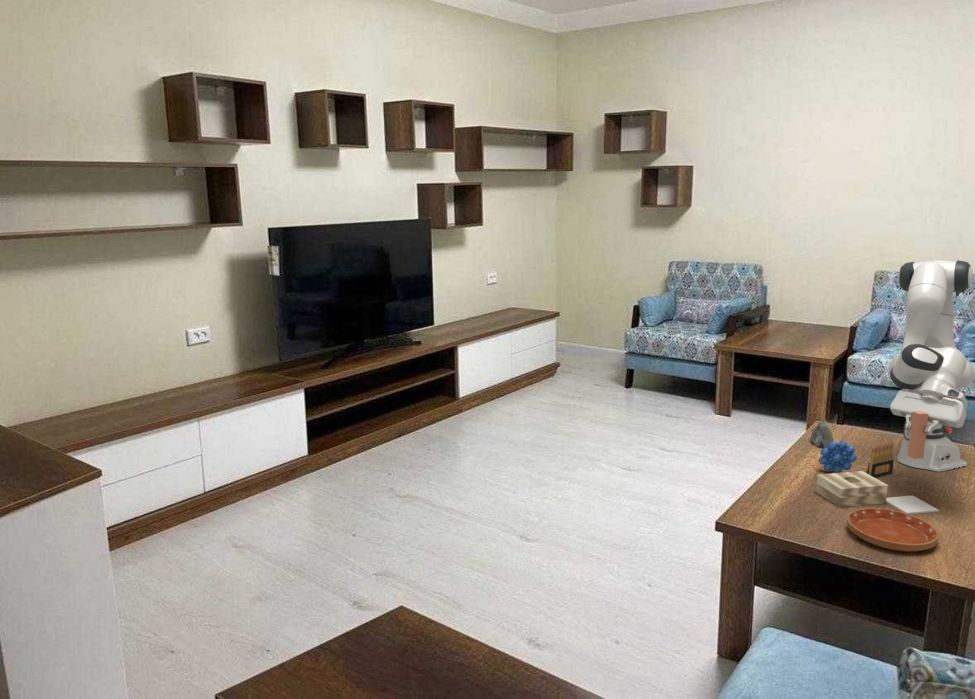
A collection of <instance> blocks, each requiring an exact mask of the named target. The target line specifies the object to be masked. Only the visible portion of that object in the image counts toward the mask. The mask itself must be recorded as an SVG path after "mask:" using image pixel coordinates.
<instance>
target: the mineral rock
mask: <svg viewBox="0 0 975 699" xmlns="http://www.w3.org/2000/svg"><path fill="white" fill-rule="evenodd" d="M810 439H811V442H812V443H813V444H814V445H815V446H816V447H817V448H821V449H823V448H828V444H829V443H830V442H835V441H834V440H835V439H834V436H833V432H832V431H831V429H830V428H829V424H828V422H827V420H826V419H822V420H820V421H819V422H818V423H817V426H816V427H814V428H813V429H812V432H811V436H810Z"/></svg>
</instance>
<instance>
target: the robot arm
mask: <svg viewBox="0 0 975 699" xmlns="http://www.w3.org/2000/svg"><path fill="white" fill-rule="evenodd" d="M973 280H974V272H973V269H972V265H971V264H970V263H969V261H964V260H960V259H959V260H945V259H944V260H943V259H935V260H926V261H924V260H923V261H917V262H916V261H909V262H906V263H904V264H902V265H901V267H900V269H899V271H898V274H897V281H898V284H899V287H900V289H901V290H902V291H904V292H907V295H906V296H907V297H906V313H905V315H906V316H905V329H904V335H903V341H902V346H901V349H900V354H897V355H895V356H894V357H892V359H891V361H890V362H889V364H888V373H889V378H890V380H891V382H892V383H893V384H894V385H895V386H896V387H898V388H900V390H898V391H897V393H896V395H895V397H894V399H893V400H892V402H891V403H890V405H889V410H890V412H891V413H892V414H893V415H894V416H898V417H904V418H905V422H904V425H903V438H902V441H901V446H900V449H899V451H898V454H897V455H896V457H895V458H896V461H898V462H899V463H901V464H903V465H906V466H908V467H912V468H917V469H923V470H930V471H932V472H944V471H945V472H946V471H949V470H954V468H955V469H960V468H964V467H963V466H965V467H967V466H968V463H967V462H966V461H965V460H964V459H962V458H961V451H960V448H959V446H958V445H957V444H955V443H954V442H953V441H952V440H951V439H949V438H948V437H947V436H946V433H947V434H949V435H950V434H952V432H953V429H952V428H956V429H959V428H961V427H963V425H964V424H965V420H966V417H967V411H966V410H967V409H968V401H967V398H966V396H965V395H964V393H963V392H961V391H959V390H958V389H965V388H967V387H968V386H970V385H971V384H972V383H973V381H974V378H975V368H974V366H973V364H972V363H971V361H969V360H968V358H966V356H965V355H964V354H963V352H961V350H959V349H958V348H957V346H956V344H955V339H954V318H955V317H954V316H955V303H954V302H955V301H954V294H953V293H955V296H956V297H959V295H960V294H962V293H964V292H966V291H967V290H968V289H969V288H970V286H971V285H972V283H973ZM912 411H923V412H925V413H928V422H927V426H926V429H925V430H924V432H925V434H926V439H925V448H924V457H923V458H920V459H914V458H912V457H909V456H908V446H909V437H910V429H911V419H912ZM959 467H960V468H959Z"/></svg>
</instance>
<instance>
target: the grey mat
mask: <svg viewBox="0 0 975 699" xmlns="http://www.w3.org/2000/svg"><path fill="white" fill-rule="evenodd" d="M885 504H887V505H889V506H891V507H893V508H895V509H896V510H897V511H899V512H903V513H907V514H910V515H917V514H918V515H919V514H930V513H939V511H940V510H939V509H938V508H936V507H934V506H933V505H931V504H930V503H927V502H925V501H924V500H921V499H920V498H918V497H917V496H914V495H903V496H892V497H889V496H888V497H886V503H885Z"/></svg>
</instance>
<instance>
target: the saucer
mask: <svg viewBox="0 0 975 699" xmlns="http://www.w3.org/2000/svg"><path fill="white" fill-rule="evenodd" d="M846 518H847V519H846V525H847V527H848V529H849V530H850V531H851V532H852V533H853V534H854V535H856V536H857V537H858V538H860V539H861V540H863V541H865V542H867V543H869V544H871V545H873V546H876V547H880V548H883V549H886V550H892V551H897V552H898V551H899V552H908V553H911V552H921V551H925V550H930V549H932V548H933V547H935V546H937V544H938V540H939V538H940V537H939V532H938V529H936V527H934V526H933V525H932V524H931V523H929V522H928V521H926V520H924V519H922V518H920V517H918V516H915V515H914V514H907V513H903V512H901V511H900V510H894V509H887V508H880V507H879V508H878V507H866V508H859V509H854V510H852V511H850V512H849V513H848V514H847V517H846Z"/></svg>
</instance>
